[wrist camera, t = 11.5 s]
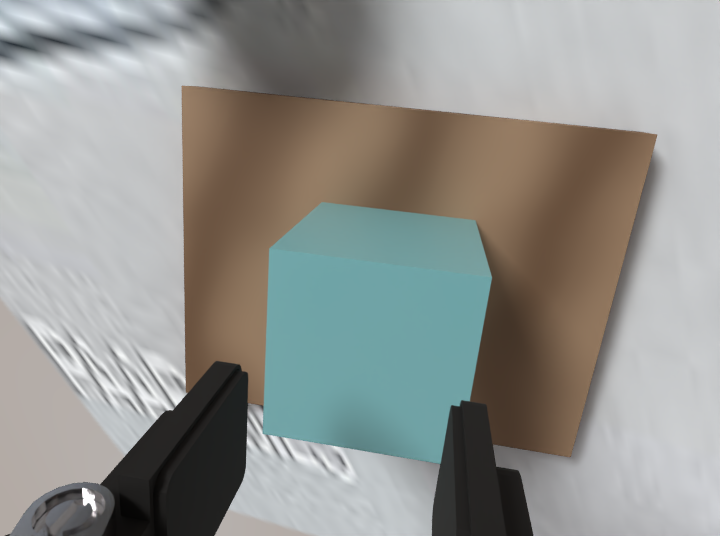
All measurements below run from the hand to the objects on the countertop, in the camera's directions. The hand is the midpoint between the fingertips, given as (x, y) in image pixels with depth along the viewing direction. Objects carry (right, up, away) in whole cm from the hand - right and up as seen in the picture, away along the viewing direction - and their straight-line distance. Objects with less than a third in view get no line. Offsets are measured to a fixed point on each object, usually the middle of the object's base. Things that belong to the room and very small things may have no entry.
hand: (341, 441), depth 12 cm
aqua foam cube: (+2, +3, +10) cm, 11 cm away
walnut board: (+2, +4, +12) cm, 12 cm away
